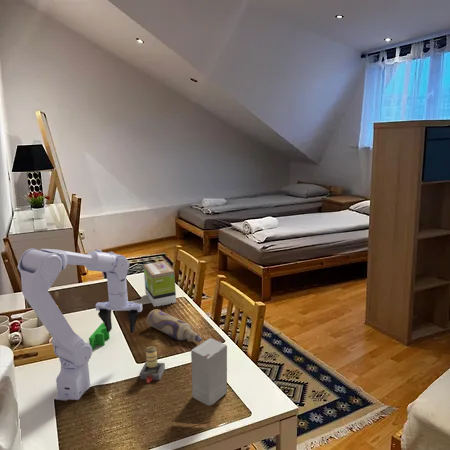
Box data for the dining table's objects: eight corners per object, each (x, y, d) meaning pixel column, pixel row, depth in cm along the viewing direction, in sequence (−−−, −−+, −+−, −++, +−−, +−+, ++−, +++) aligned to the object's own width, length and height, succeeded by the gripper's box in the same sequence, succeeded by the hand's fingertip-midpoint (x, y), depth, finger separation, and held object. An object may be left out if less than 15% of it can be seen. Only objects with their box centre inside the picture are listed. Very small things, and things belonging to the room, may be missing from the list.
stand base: (164, 386, 122) (164, 378, 122) (131, 384, 123) (130, 376, 123) (172, 367, 132) (172, 359, 131) (142, 365, 133) (141, 358, 132)
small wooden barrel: (155, 367, 125) (154, 352, 124) (145, 367, 125) (144, 351, 124) (158, 361, 128) (157, 346, 127) (148, 361, 129) (147, 345, 127)
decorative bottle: (145, 328, 157) (144, 312, 156) (161, 322, 163) (160, 306, 161) (192, 352, 140) (191, 334, 139) (208, 344, 146) (208, 326, 144)
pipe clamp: (100, 350, 143) (99, 338, 142) (90, 350, 143) (88, 338, 142) (112, 334, 154) (111, 323, 153) (103, 334, 154) (101, 322, 153)
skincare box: (210, 385, 123) (209, 335, 119) (229, 394, 118) (228, 343, 114) (190, 399, 116) (188, 348, 112) (210, 410, 112) (208, 356, 108)
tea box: (144, 295, 189) (142, 263, 185) (166, 290, 193) (164, 260, 189) (154, 307, 175) (151, 274, 172) (176, 303, 179) (175, 270, 176)
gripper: (144, 287, 134) (146, 326, 137) (100, 285, 135) (104, 324, 139) (137, 295, 127) (140, 336, 130) (91, 294, 129) (95, 334, 132)
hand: (121, 331), depth 134 cm, fingers open, 7 cm apart
